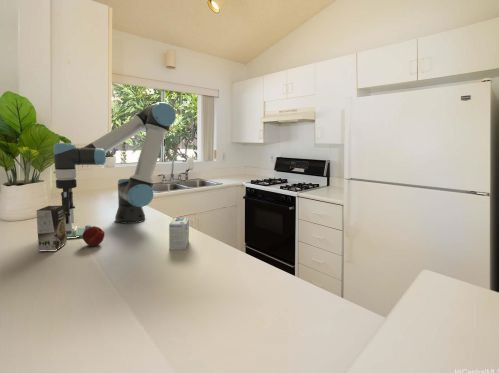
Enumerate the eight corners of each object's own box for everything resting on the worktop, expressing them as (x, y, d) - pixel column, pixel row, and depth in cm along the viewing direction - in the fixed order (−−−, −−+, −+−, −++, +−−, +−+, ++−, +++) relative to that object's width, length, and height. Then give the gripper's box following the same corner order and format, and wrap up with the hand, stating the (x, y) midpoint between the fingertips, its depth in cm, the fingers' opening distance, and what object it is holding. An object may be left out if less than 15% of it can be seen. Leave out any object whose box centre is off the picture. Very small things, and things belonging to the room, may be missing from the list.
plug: (72, 230, 126) (70, 212, 125) (71, 233, 123) (70, 213, 122) (62, 231, 125) (61, 212, 123) (61, 234, 122) (60, 214, 120)
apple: (99, 248, 110) (98, 229, 109) (78, 248, 109) (77, 228, 108) (107, 242, 117) (106, 224, 116) (88, 242, 116) (87, 223, 115)
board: (97, 229, 135) (96, 222, 134) (96, 236, 124) (96, 229, 124) (57, 232, 127) (56, 226, 127) (53, 240, 117) (52, 233, 116)
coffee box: (57, 251, 105) (55, 210, 103) (38, 252, 104) (35, 210, 102) (67, 243, 114) (65, 205, 112) (50, 244, 113) (47, 205, 110)
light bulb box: (173, 241, 122) (173, 217, 120) (189, 241, 122) (189, 217, 121) (168, 249, 111) (168, 223, 110) (185, 250, 112) (186, 223, 110)
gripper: (59, 176, 130) (62, 220, 133) (51, 182, 109) (54, 235, 112) (78, 175, 134) (80, 219, 137) (73, 182, 112) (76, 233, 115)
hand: (69, 226), depth 124 cm, fingers open, 12 cm apart
